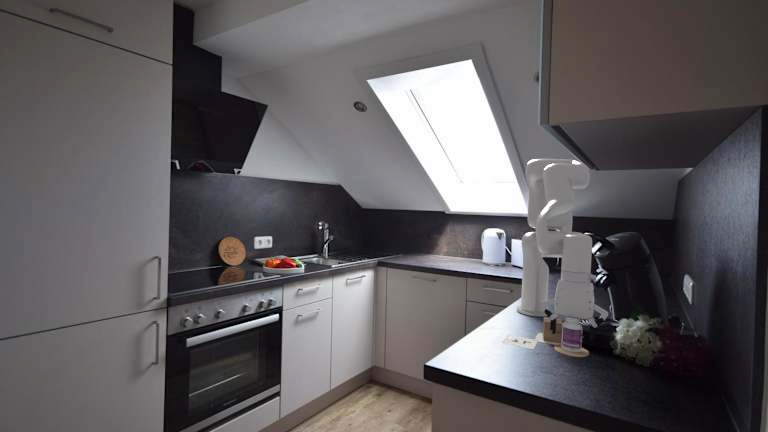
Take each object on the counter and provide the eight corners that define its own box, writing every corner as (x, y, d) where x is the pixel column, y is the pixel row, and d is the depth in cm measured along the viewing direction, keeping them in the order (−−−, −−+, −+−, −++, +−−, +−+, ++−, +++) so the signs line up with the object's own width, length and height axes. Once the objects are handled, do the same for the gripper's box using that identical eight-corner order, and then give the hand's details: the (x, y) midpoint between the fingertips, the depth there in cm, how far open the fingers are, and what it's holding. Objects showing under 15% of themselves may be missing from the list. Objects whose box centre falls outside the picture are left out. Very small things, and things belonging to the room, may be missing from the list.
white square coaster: (508, 335, 124) (508, 334, 124) (538, 341, 119) (538, 340, 119) (501, 343, 116) (501, 342, 116) (533, 350, 111) (533, 349, 111)
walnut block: (542, 335, 124) (543, 317, 124) (559, 338, 122) (560, 319, 122) (543, 340, 119) (544, 321, 119) (561, 343, 117) (562, 323, 117)
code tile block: (538, 333, 127) (538, 332, 127) (568, 339, 122) (568, 338, 122) (534, 341, 119) (534, 340, 119) (566, 347, 114) (566, 346, 114)
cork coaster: (556, 343, 118) (556, 341, 118) (589, 349, 113) (589, 348, 113) (552, 352, 110) (552, 351, 110) (588, 359, 105) (588, 358, 105)
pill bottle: (585, 353, 109) (587, 319, 109) (566, 352, 109) (567, 318, 109) (576, 346, 114) (577, 314, 114) (557, 345, 114) (559, 313, 114)
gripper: (610, 279, 110) (606, 338, 110) (544, 271, 118) (541, 327, 119) (610, 283, 103) (606, 346, 104) (541, 275, 112) (538, 333, 112)
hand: (572, 336), depth 111 cm, fingers open, 9 cm apart
